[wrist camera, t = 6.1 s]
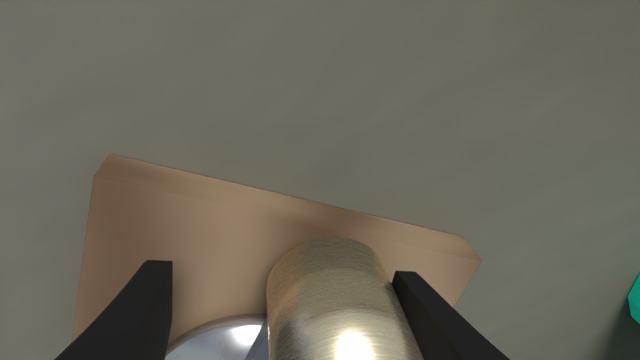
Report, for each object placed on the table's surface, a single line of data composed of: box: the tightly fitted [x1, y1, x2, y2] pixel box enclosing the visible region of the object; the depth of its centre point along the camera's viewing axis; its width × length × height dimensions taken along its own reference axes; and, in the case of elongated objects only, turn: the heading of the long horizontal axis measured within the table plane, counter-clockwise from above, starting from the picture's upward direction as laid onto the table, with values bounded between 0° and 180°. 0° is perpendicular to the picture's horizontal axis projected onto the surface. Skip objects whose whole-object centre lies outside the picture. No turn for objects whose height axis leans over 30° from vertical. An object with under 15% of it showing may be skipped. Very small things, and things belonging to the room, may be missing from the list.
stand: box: [72, 154, 482, 345], centre depth 16 cm, size 13×13×2 cm
